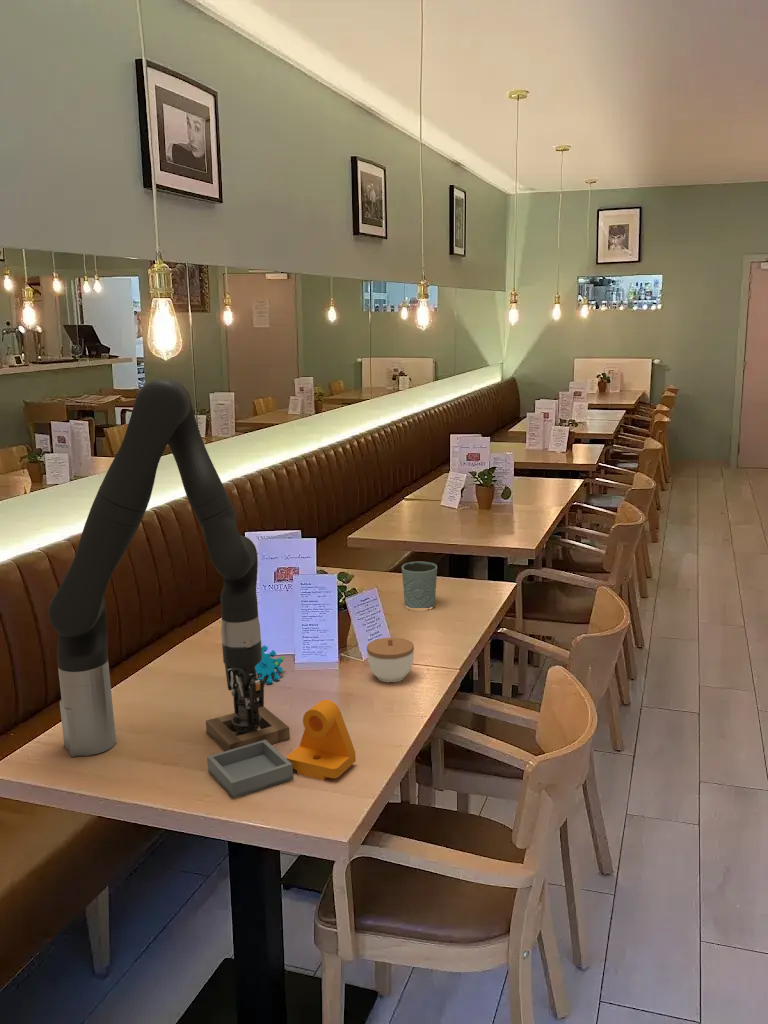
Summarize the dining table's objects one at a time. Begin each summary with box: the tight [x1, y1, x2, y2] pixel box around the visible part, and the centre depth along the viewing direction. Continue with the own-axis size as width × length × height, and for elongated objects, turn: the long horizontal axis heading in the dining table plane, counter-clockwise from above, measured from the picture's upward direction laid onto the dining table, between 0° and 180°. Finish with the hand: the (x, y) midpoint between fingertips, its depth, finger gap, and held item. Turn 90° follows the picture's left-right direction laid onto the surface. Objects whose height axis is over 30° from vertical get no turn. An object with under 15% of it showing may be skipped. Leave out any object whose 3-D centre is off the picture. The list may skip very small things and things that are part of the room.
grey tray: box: [206, 740, 294, 800], centre depth 161 cm, size 12×12×3 cm
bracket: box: [286, 699, 357, 781], centre depth 162 cm, size 11×7×12 cm, turn 63°
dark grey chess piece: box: [232, 686, 262, 736], centre depth 176 cm, size 6×6×12 cm
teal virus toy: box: [255, 644, 285, 685], centre depth 206 cm, size 11×6×10 cm
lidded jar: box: [366, 637, 415, 684], centre depth 203 cm, size 11×11×9 cm
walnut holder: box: [205, 706, 291, 752], centre depth 177 cm, size 12×12×2 cm
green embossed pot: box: [401, 561, 438, 608], centre depth 252 cm, size 10×10×12 cm
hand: (246, 718), depth 176 cm, fingers closed on dark grey chess piece, 6 cm apart
